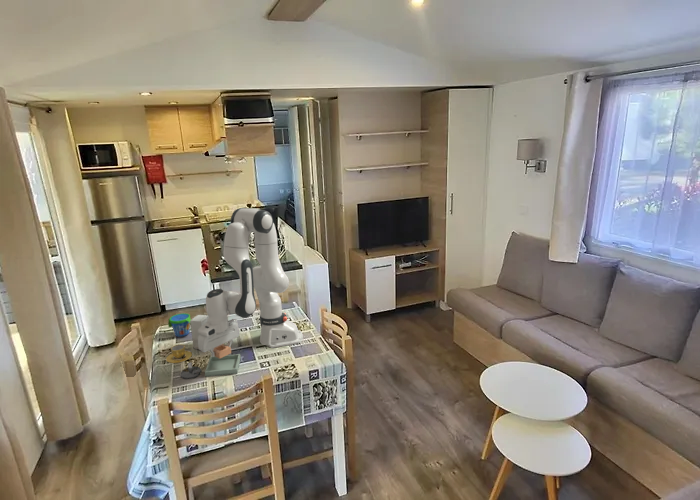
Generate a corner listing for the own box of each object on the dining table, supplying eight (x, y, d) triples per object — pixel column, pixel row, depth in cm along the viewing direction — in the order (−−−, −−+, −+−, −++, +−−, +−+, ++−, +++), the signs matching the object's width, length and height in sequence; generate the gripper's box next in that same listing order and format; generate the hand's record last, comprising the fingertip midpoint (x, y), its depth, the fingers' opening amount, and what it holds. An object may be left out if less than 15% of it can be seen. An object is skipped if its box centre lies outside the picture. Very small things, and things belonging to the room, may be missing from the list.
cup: (167, 353, 214) (165, 344, 212) (192, 349, 217) (191, 340, 216) (165, 365, 203) (163, 355, 201) (191, 361, 206) (190, 351, 205)
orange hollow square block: (222, 349, 201) (222, 343, 201) (231, 353, 197) (230, 347, 197) (211, 354, 196) (210, 349, 196) (219, 358, 193) (219, 353, 192)
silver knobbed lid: (203, 367, 200) (202, 357, 198) (199, 378, 191) (197, 367, 190) (183, 369, 198) (181, 359, 197) (178, 379, 190) (176, 369, 188)
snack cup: (164, 335, 233) (161, 318, 230) (179, 327, 242) (177, 311, 239) (185, 341, 226) (182, 323, 223) (200, 332, 235) (197, 315, 233)
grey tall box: (204, 350, 216) (200, 321, 212) (192, 349, 217) (188, 320, 213) (212, 342, 224) (209, 314, 220) (201, 341, 225) (197, 314, 221)
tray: (240, 358, 207) (240, 353, 206) (237, 373, 193) (236, 369, 193) (210, 361, 205) (210, 356, 204) (205, 376, 192) (204, 372, 191)
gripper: (232, 315, 203) (235, 342, 207) (194, 331, 187) (197, 359, 191) (241, 318, 199) (243, 345, 203) (203, 334, 184) (206, 363, 187)
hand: (221, 352), depth 197 cm, fingers closed on orange hollow square block, 6 cm apart
